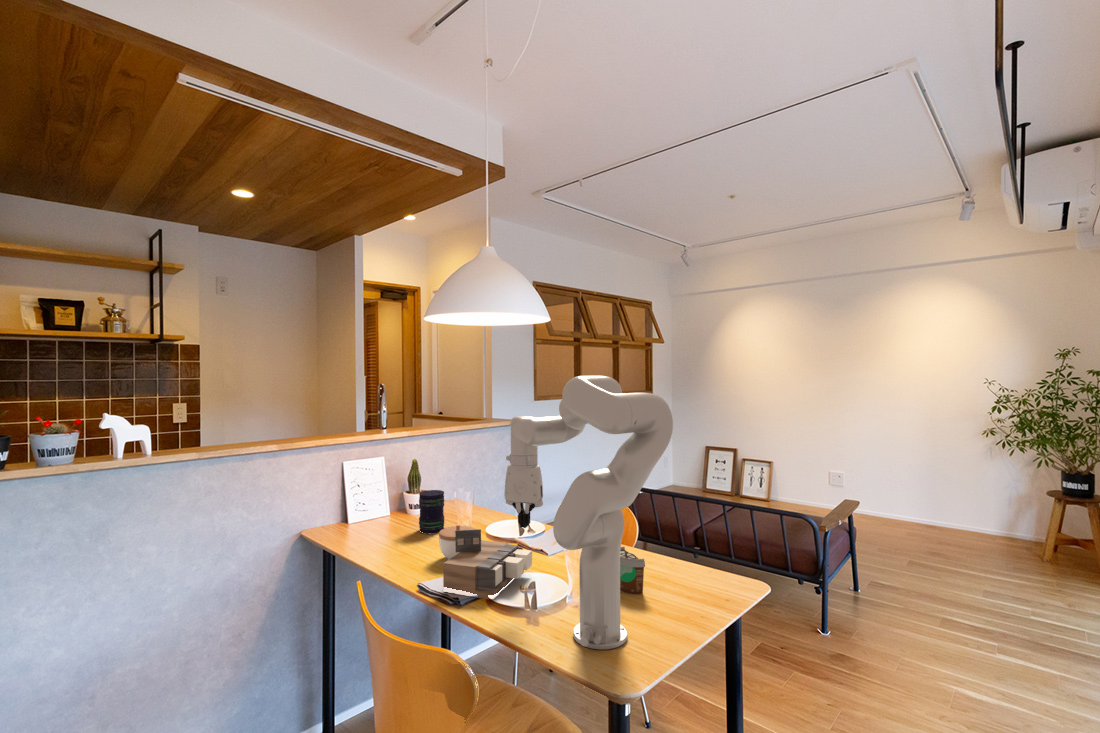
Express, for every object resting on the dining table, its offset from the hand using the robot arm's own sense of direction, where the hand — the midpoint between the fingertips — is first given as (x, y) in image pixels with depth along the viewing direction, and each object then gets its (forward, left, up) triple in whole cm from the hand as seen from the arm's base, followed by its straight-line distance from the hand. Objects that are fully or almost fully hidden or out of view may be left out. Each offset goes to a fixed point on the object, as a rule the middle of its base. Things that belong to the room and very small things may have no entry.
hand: (524, 526), depth 146 cm
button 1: (-2, +10, -16) cm, 19 cm away
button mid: (+5, +6, -16) cm, 18 cm away
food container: (+13, -25, -19) cm, 35 cm away
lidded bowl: (+20, +33, -19) cm, 43 cm away
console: (+5, +16, -19) cm, 25 cm away
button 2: (+12, +6, -16) cm, 21 cm away
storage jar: (+45, +59, -19) cm, 77 cm away
